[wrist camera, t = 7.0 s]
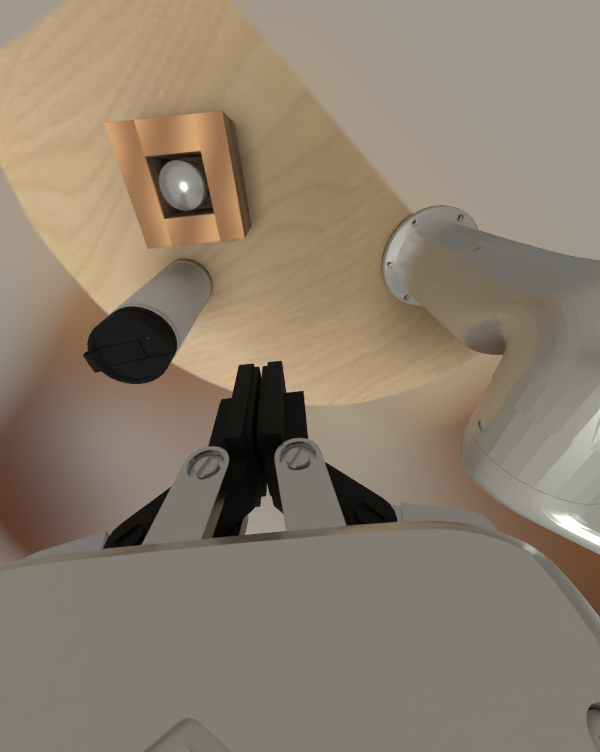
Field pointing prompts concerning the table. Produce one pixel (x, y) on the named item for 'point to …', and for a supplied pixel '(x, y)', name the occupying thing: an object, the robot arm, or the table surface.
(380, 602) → the robot arm
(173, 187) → the peg
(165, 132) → the hole block
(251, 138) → the table surface
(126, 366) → the travel mug
